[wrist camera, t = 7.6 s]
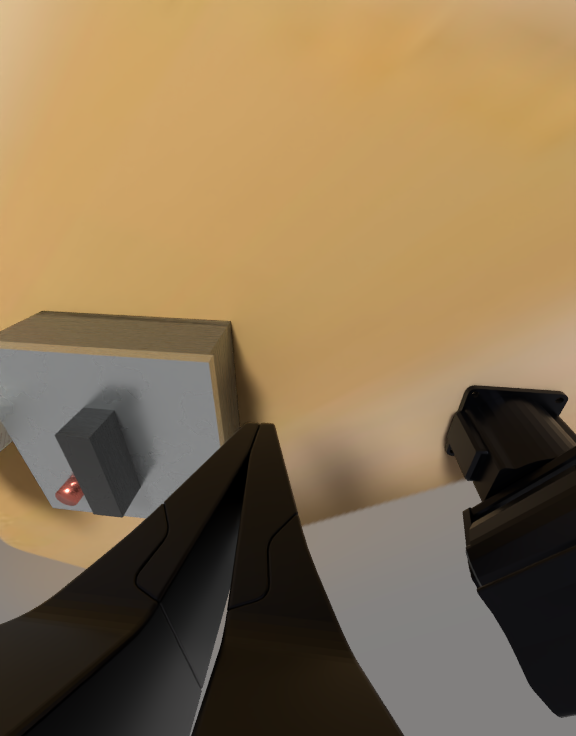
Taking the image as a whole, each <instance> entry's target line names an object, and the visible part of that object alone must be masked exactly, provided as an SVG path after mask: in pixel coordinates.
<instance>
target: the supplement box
mask: <svg viewBox="0 0 576 736" xmlns="http://www.w3.org/2000/svg"><path fill="white" fill-rule="evenodd" d="M11 442H12V439H11V437H10V435H9V434H8V432H7V430H6V429H5V427H4V425H3V424H2V422H1V420H0V452H1V451H2V450H3V449H4V448H5V447H6V446H8V445H9V444H10V443H11Z"/></svg>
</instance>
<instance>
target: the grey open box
mask: <svg viewBox="0 0 576 736" xmlns="http://www.w3.org/2000/svg"><path fill="white" fill-rule="evenodd" d="M0 341H2V342H18V343H33V344H49V345H64V346H80V347H95V348H111V349H126V350H142V351H157V352H173V353H189V354H204V355H213V356H214V363H215V371H216V379H217V387H218V395H219V403H220V411H221V419H222V427H223V435H224V443H225V442H226V441H227V440H228V439H229V438H230V437H231V436H233V435H234V434H235V433H236V432H237V431H238V430H239V429H240V423H239V411H238V400H237V389H236V378H235V366H234V355H233V344H232V332H231V321H217V320H198V319H180V318H162V317H144V316H125V315H107V314H89V313H71V312H52V311H41V312H39V313H37V314H35V315H33V316H31V317H29V318H27V319H25V320H23V321H21V322H18V323H16V324H14V325H12V326H10V327H8V328H6V329H4V330H2V331H0Z"/></svg>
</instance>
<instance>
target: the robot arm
mask: <svg viewBox="0 0 576 736" xmlns="http://www.w3.org/2000/svg"><path fill="white" fill-rule="evenodd" d="M473 392H476V393H475V394H472V393H473ZM557 398H559V399H557ZM556 399H557V400H556ZM567 401H568V397H567V396H566V395H565V394H564V393H563V392H561V391H551V390H536V389H521V388H507V387H492V386H477V385H474V386H470V387H469V388H467V390H466V392H465V394H464V397H463V400H462V403H461V405H460V408H459V411H457V412H456V413H455V416H454V418H453V421H452V424H451V427H450V429H449V432H448V435H447V439H448V440H447V443H446V446H445V450H446V452H447V454H448V455H451V456H455V457H456V460H457V462H458V464H459V466H460V469H461V471H462V473H463V475H464V477H465V478H466V480H467V481H473V483H474V485H475V488H476V490H477V492H478V494H479V496H480V498H481V501H482V502H481V503H480V504H478V505H476V506H475V507H473V508H468V509H466V510H465V511H463V519H464V529H465V539H466V555H467V558H468V564H469V569H470V573H471V578H472V580H473V582H474V583H475V585H476V586H477V592H478V594H479V596H480V597H481V598H482V600H483V601H484V602H485V604H486V605H487V607H488V608H489V609H490V611H491V612H492V613H493V615H494V617H495V618H496V620H497V622H498V623H499V625H500V626H501V628H502V630H503V632H504V633H505V635H506V637H507V639H508V641H509V643H510V645H511V647H512V649H513V651H514V653H515V655H516V657H517V659H518V661H519V664H520V666H521V668H522V670H523V672H524V674H525V677H526V679H527V681H528V683H529V685H530V686H531V687H532V689H533V690H534V692H535V693H536V694H537V695H538V696H539V697H540V698H541V699H542V701H543V702H544V703H545V704H546V705H547V706H548V707H549V709H550V710H551V711H552V712H553V713H554V714H556V715H557V716H559V717H561V718H563V717H568V716H574V715H576V434H575V433H574V432H573V431H572V430H571V429H570V428H569V427H568V425H567V424H566V423H565V422H564V421H563V420H562V419H561V418H560V417H559V415H560V413H561V411H562V409H563V408H564V406H565V404H566V403H567ZM451 449H452V450H451ZM229 590H230V594H229ZM228 594H229V601H228V608H227V611H228V612H227V615H226V621H225V627H224V632H223V637H222V642H221V646H220V649H219V652H218V655H217V658H216V661H215V665H214V668H213V671H212V674H211V677H210V680H209V683H208V686H207V689H206V693H205V695H204V698H203V701H202V705H201V708H200V710H199V714H198V717H197V720H196V723H195V726H194V729H193V732H192V735H191V736H404V735H403V733H402V731H401V730H400V728H399V727H398V725H397V724H396V722H395V720H394V719H393V717H392V716H391V714H390V713H389V711H388V709H387V708H386V706H385V705H384V704H383V701H382V700H381V698H380V697H379V695H378V694H377V692H376V691H375V689H374V687H373V686H372V684H371V683H370V681H369V679H368V678H367V676H366V675H365V673H364V671H363V670H362V668H361V667H360V665H359V663H358V662H357V660H356V658H355V657H354V655H353V653H352V651H351V649H350V647H349V645H348V643H347V641H346V638H345V636H344V634H343V632H342V630H341V628H340V625H339V623H338V621H337V618H336V616H335V613H334V611H333V609H332V606H331V604H330V601H329V599H328V597H327V594H326V592H325V590H324V587H323V585H322V582H321V580H320V578H319V575H318V573H317V571H316V568H315V565H314V563H313V560H312V557H311V555H310V552H309V549H308V547H307V543H306V540H305V537H304V534H303V530H302V526H301V523H300V519H299V516H298V512H297V508H296V504H295V500H294V496H293V493H292V489H291V485H290V481H289V477H288V474H287V470H286V466H285V462H284V459H283V455H282V451H281V447H280V443H279V440H278V436H277V432H276V428H275V425H274V424H272V423H261V424H259V423H254V422H247V423H245V424H244V425H243V426H242V427H241V428H240V429H239V430H238V431H237V432H236V433H235V434H234V435H233V436H231V437H230V438H229V439H228V440H227V441H226V442H225V443H224V444H223V445H222V446H221V447H220V448H219V449H218V450H217V451H216V452H215V453H214V454H213V455H212V456H211V457H210V458H209V459H208V460H207V461H206V462H205V463H204V464H202V465H201V466H200V467H199V468H198V469H197V470H196V471H195V472H194V473H193V474H192V475H191V476H190V477H189V478H188V479H187V480H186V481H185V482H184V483H183V484H182V485H181V486H180V487H179V488H178V489H177V490H176V491H174V492H173V493H172V494H171V495H170V496H169V497H168V498H167V499H166V500H165V501H164V504H161V505H160V506H159V507H158V508H157V509H156V510H155V511H154V512H153V513H152V514H150V515H149V516H148V517H147V518H146V519H145V520H144V521H143V522H142V523H141V524H140V525H139V526H137V527H136V528H135V529H134V530H133V531H132V532H131V533H130V534H128V535H127V536H126V537H125V538H124V539H122V540H121V541H120V542H119V543H118V544H117V545H115V546H114V547H113V548H112V549H111V550H109V551H108V552H107V553H106V554H104V555H103V556H102V557H101V558H100V559H98V560H97V561H96V562H95V563H93V564H92V565H91V566H90V567H88V568H87V569H86V570H85V571H84V572H82V573H81V574H80V575H79V576H77V577H76V578H75V579H74V580H72V581H71V582H70V583H69V584H68V585H67V586H65V587H64V588H63V589H61V590H60V591H59V592H58V593H56V594H55V595H54V596H52V597H51V598H50V599H48V600H47V601H45V602H44V603H42V604H41V605H39V606H38V607H36V608H34V609H33V610H31V611H29V612H27V613H25V614H23V615H21V616H19V617H17V618H15V619H12V620H10V621H8V622H5V623H3V624H0V736H189V735H190V732H191V727H192V724H193V721H194V717H195V713H196V710H197V706H198V702H199V699H200V695H201V692H202V691H201V688H202V687H203V684H204V681H205V677H206V673H207V670H208V666H209V662H210V659H211V655H212V651H213V648H214V644H215V641H216V637H217V634H218V630H219V626H220V623H221V619H222V615H223V612H224V608H225V605H226V601H227V597H228Z"/></svg>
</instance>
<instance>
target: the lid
mask: <svg viewBox="0 0 576 736" xmlns="http://www.w3.org/2000/svg"><path fill="white" fill-rule="evenodd" d="M0 420H1V422H2V424H3V425H4V427H5V429H6V430H7V432H8V434H9V435H10V437H11V439H12V440H13V442H14V444H15V445H16V447H17V449H18V450H19V452H20V454H21V455H22V457H23V459H24V461H25V462H26V464H27V466H28V467H29V469H30V471H31V472H32V474H33V476H34V477H35V479H36V481H37V482H38V484H39V486H40V487H41V489H42V491H43V492H44V494H45V496H46V497H47V499H48V501H49V502H50V504H51V506H52V507H53V508H58V509H67V510H76V511H85V512H93V514H96V515H105V516H114V517H123V516H130V517H139V518H147V517H148V516H149V515H150V514H152V513H153V512H154V511H155V510H156V509H157V508H158V507H159V506H160V505H161V504H164V501H165V500H166V499H167V498H168V497H169V496H170V495H171V494H172V493H173V492H174V491H176V490H177V489H178V488H179V487H180V486H181V485H182V484H183V483H184V482H185V481H186V480H187V479H188V478H189V477H190V476H191V475H192V474H193V473H194V472H195V471H196V470H197V469H198V468H199V467H200V466H201V465H202V464H204V463H205V462H206V461H207V460H208V459H209V458H210V457H211V456H212V455H213V454H214V453H215V452H216V451H217V450H218V449H219V448H220V447H221V446H222V445H223V444H224V435H223V427H222V419H221V411H220V403H219V395H218V387H217V379H216V371H215V363H214V356H213V355H204V354H189V353H173V352H157V351H142V350H126V349H111V348H95V347H80V346H64V345H49V344H33V343H18V342H2V341H0Z"/></svg>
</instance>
